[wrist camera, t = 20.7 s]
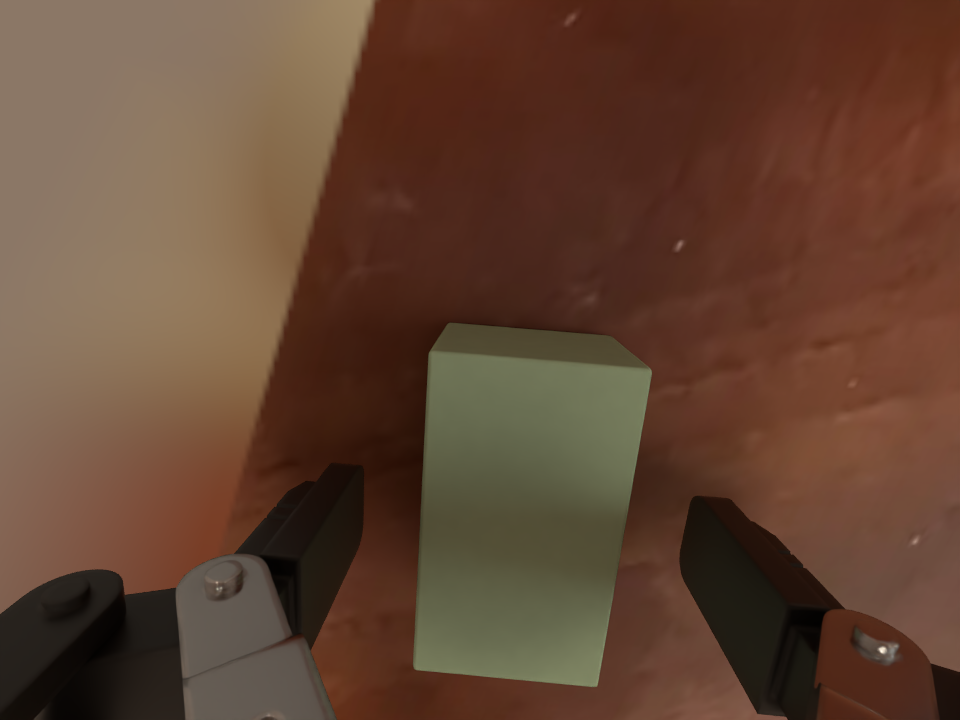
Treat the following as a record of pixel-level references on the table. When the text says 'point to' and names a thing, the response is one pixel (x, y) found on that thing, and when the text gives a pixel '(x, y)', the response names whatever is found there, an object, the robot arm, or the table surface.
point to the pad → (524, 500)
